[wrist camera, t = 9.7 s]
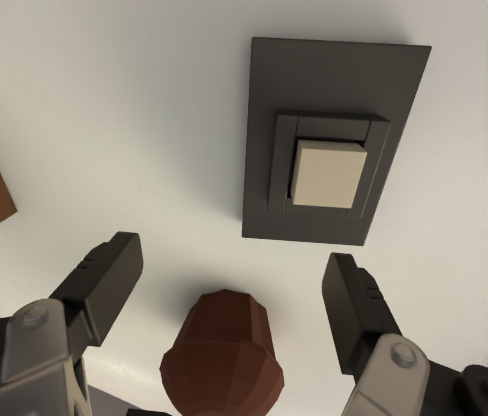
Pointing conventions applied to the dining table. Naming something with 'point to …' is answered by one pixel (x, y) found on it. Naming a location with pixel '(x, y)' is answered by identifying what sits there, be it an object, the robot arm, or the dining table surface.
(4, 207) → the panel
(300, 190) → the key
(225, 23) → the dining table surface
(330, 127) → the tiered pedestal stack
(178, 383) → the muffin
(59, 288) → the robot arm
